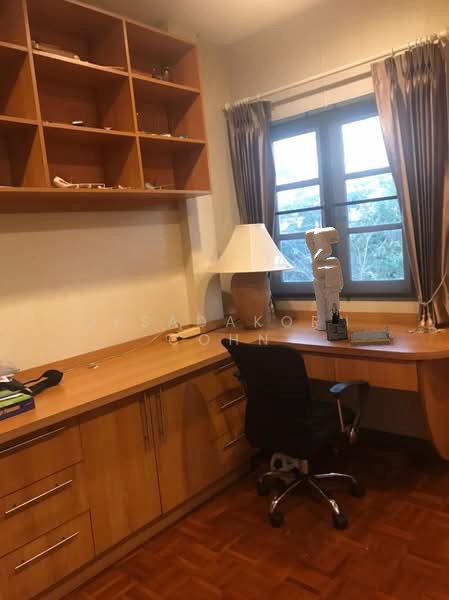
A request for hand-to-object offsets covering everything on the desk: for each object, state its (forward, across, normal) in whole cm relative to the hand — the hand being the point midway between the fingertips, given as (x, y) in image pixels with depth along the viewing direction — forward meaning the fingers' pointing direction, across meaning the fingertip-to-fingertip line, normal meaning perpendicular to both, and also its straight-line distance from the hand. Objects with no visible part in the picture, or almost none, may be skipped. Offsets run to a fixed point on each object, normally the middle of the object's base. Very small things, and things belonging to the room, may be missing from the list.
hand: (336, 321), depth 256 cm
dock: (+10, +7, +17) cm, 21 cm away
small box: (+10, -1, 0) cm, 10 cm away
